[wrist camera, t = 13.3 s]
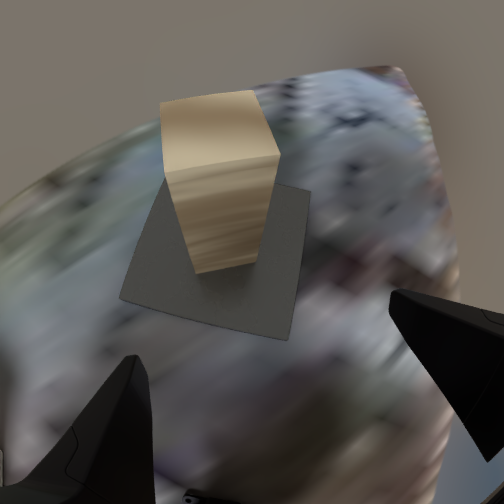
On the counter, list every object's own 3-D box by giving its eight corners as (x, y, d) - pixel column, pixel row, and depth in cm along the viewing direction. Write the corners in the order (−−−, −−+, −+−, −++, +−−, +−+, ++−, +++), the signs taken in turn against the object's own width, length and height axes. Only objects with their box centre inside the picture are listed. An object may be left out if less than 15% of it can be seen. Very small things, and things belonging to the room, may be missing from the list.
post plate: (286, 340, 22) (297, 334, 18) (121, 299, 22) (102, 285, 19) (309, 195, 28) (319, 169, 24) (172, 167, 28) (165, 140, 24)
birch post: (256, 261, 24) (280, 154, 12) (195, 274, 23) (164, 172, 11) (242, 210, 26) (252, 90, 14) (186, 220, 25) (159, 103, 13)
